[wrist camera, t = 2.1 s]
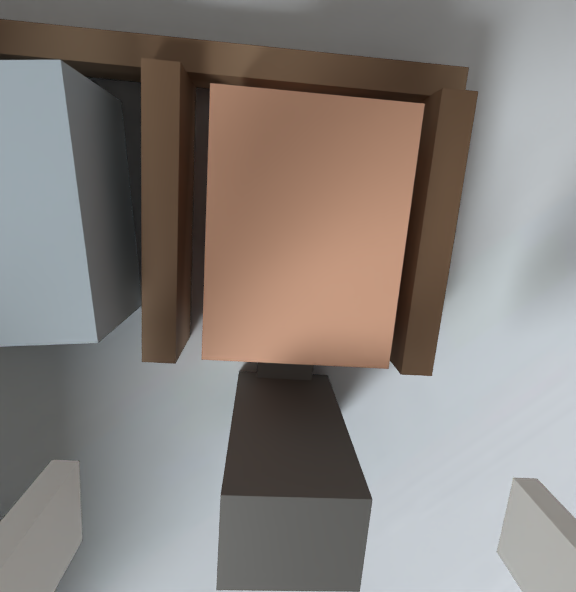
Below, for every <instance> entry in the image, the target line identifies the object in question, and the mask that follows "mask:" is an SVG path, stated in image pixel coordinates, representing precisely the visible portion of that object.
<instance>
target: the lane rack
mask: <svg viewBox="0 0 576 592" xmlns="http://www.w3.org/2000/svg"><path fill="white" fill-rule="evenodd" d="M0 60H62V61H63V62H65V63H66V64H68V65H69V66H70V67H72V68H73V69H75V70H76V71H78V72H79V73H81V74H82V75H84V76H85V77H93V78H103V79H114V80H124V81H135V82H141V246H142V362H155V363H176V362H177V360H178V358H179V356H180V354H181V352H182V351H183V349H184V347H185V345H186V343H187V341H188V340H189V338H190V313H191V271H192V229H193V187H194V145H195V103H196V87H198V88H208V89H210V83H214V84H225V85H235V86H246V87H256V88H267V89H277V90H287V91H298V92H308V93H319V94H329V95H340V96H350V97H360V98H371V99H381V100H392V101H402V102H412V103H423V104H425V106H424V114H423V121H422V128H421V135H420V143H419V150H418V157H417V165H416V172H415V179H414V186H413V194H412V201H411V208H410V216H409V223H408V230H407V237H406V245H405V252H404V259H403V267H402V274H401V281H400V289H399V296H398V303H397V310H396V318H395V325H394V332H393V340H392V347H391V354H390V361H391V362H392V364H393V365H394V366H395V367H396V369H397V370H398V371H399V373H400V374H402V375H423V376H432V372H433V365H434V359H435V353H436V347H437V341H438V335H439V329H440V323H441V316H442V310H443V304H444V298H445V292H446V286H447V280H448V274H449V267H450V261H451V255H452V249H453V243H454V237H455V231H456V225H457V218H458V212H459V206H460V200H461V194H462V188H463V182H464V176H465V169H466V163H467V157H468V151H469V145H470V139H471V133H472V127H473V121H474V114H475V108H476V102H477V96H478V91H469V90H465V89H466V82H467V76H468V70H469V67H460V66H450V65H441V64H431V63H421V62H412V61H402V60H392V59H382V58H373V57H363V56H353V55H344V54H334V53H324V52H315V51H305V50H295V49H285V48H276V47H266V46H256V45H247V44H237V43H227V42H218V41H208V40H198V39H189V38H179V37H169V36H159V35H150V34H140V33H130V32H121V31H111V30H101V29H92V28H82V27H72V26H62V25H53V24H43V23H33V22H24V21H14V20H4V19H0Z"/></svg>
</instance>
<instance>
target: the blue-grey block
mask: <svg viewBox="0 0 576 592" xmlns="http://www.w3.org/2000/svg"><path fill="white" fill-rule="evenodd" d="M140 306H142V295H141V286H140V276H139V267H138V257H137V247H136V238H135V228H134V219H133V209H132V200H131V190H130V180H129V171H128V161H127V152H126V142H125V132H124V123H123V113H122V104H121V101H120V100H119V99H117V98H116V97H114V96H113V95H111V94H110V93H108V92H107V91H105V90H104V89H103V88H101V87H100V86H98V85H97V84H95V83H94V82H92V81H91V80H89V79H88V78H86V77H85V76H84V75H82V74H81V73H79V72H78V71H76V70H75V69H73V68H72V67H70V66H69V65H68V64H66V63H65V62H63V61H62V60H0V347H4V346H30V345H57V344H83V343H98V342H100V341H101V340H102V339H103V338H104V337H105V336H107V335H108V334H109V333H110V332H111V331H112V330H114V329H115V328H116V327H117V326H118V325H119V324H121V323H122V322H123V321H124V320H125V319H126V318H128V317H129V316H130V315H131V314H132V313H133V312H135V311H136V310H137V309H138V308H139V307H140Z"/></svg>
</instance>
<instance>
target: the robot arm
mask: <svg viewBox="0 0 576 592" xmlns="http://www.w3.org/2000/svg"><path fill="white" fill-rule="evenodd" d="M82 540H83V539H82V516H81V492H80V469H79V461H76V460H51V461H50V463H49V464H48V465H47V466H46V467H45V469H44V470H43V471H42V472H41V473H40V475H39V476H38V477H37V478H36V479H35V481H34V482H33V483H32V484H31V485H30V487H29V488H28V489H27V490H26V491H25V493H24V494H23V495H22V496H21V497H20V499H19V500H18V501H17V502H16V503H15V505H14V506H13V507H12V508H11V509H10V511H9V512H8V513H7V514H6V515H5V517H4V518H3V519H2V520H1V521H0V592H54V591H55V589H56V588H57V586H58V584H59V582H60V580H61V578H62V577H63V575H64V573H65V571H66V569H67V567H68V566H69V564H70V562H71V560H72V558H73V557H74V555H75V553H76V551H77V549H78V547H79V546H80V544H81V542H82ZM497 553H498V555H499V556H500V558H501V559H502V561H503V562H504V564H505V566H506V567H507V569H508V570H509V572H510V573H511V575H512V576H513V578H514V580H515V581H516V583H517V584H518V586H519V587H520V589H521V590H522V592H576V519H575V518H574V517H573V516H572V515H571V514H570V512H569V511H568V510H567V509H566V508H565V507H564V506H563V505H562V504H561V503H560V502H559V501H558V500H557V499H556V498H555V497H554V496H553V495H552V494H551V493H550V492H549V491H548V489H547V488H546V487H545V486H544V485H543V484H542V483H541V482H540V481H539V480H538V479H534V478H513V482H512V486H511V490H510V495H509V499H508V504H507V508H506V513H505V517H504V522H503V526H502V530H501V535H500V539H499V544H498V548H497Z"/></svg>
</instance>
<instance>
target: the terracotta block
mask: <svg viewBox="0 0 576 592" xmlns="http://www.w3.org/2000/svg"><path fill="white" fill-rule="evenodd" d="M424 106H425V104H423V103H412V102H402V101H392V100H381V99H371V98H360V97H350V96H340V95H329V94H319V93H308V92H298V91H287V90H277V89H267V88H256V87H246V86H235V85H225V84H214V83H210V105H209V137H208V169H207V202H206V234H205V266H204V298H203V331H202V360H223V361H243V362H258V366H257V372H241V371H239V376H238V382H237V389H236V396H235V403H234V409H233V416H232V423H231V430H230V436H229V443H228V450H227V456H226V463H225V470H224V477H223V483H222V490H221V500H220V522H219V544H218V566H217V588H216V590H262V591H353V592H360V585H361V578H362V571H363V564H364V556H365V549H366V542H367V535H368V527H369V520H370V513H371V506H372V497H371V494H370V491H369V489H368V486H367V483H366V480H365V478H364V475H363V472H362V469H361V466H360V464H359V461H358V458H357V455H356V453H355V450H354V447H353V444H352V441H351V439H350V436H349V433H348V430H347V428H346V425H345V422H344V419H343V416H342V414H341V411H340V408H339V405H338V403H337V400H336V397H335V394H334V392H333V389H332V386H331V383H330V380H329V378H328V376H325V375H312V372H313V365H323V366H344V367H364V368H384V369H389V361H390V354H391V347H392V340H393V332H394V325H395V318H396V310H397V303H398V296H399V289H400V281H401V274H402V267H403V259H404V252H405V245H406V237H407V230H408V223H409V216H410V208H411V201H412V194H413V186H414V179H415V172H416V165H417V157H418V150H419V143H420V135H421V128H422V121H423V114H424Z"/></svg>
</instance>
